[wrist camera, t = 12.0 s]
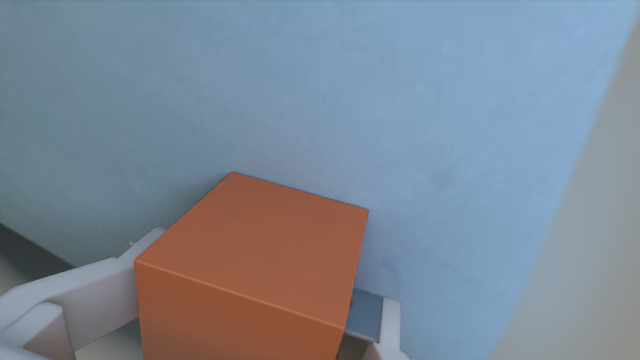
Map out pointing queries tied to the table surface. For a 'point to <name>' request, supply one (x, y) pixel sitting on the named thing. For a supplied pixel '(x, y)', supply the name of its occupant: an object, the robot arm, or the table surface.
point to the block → (250, 276)
